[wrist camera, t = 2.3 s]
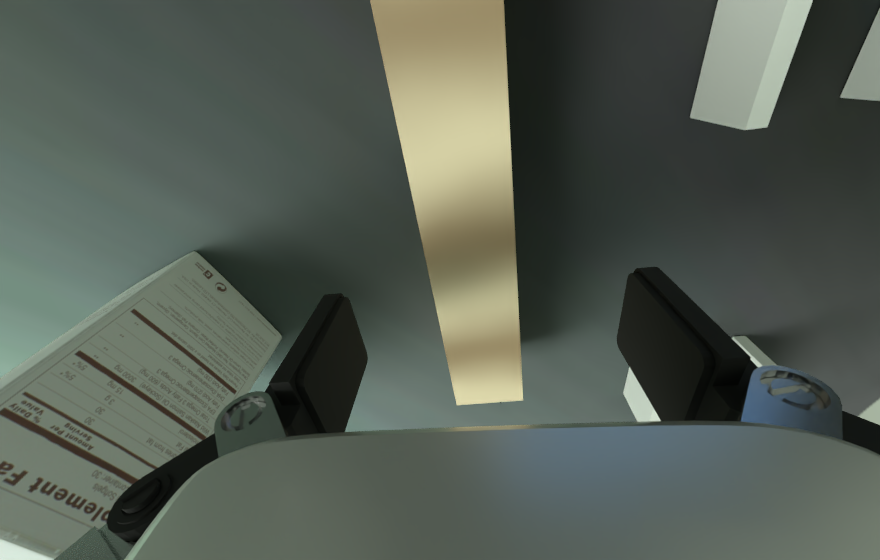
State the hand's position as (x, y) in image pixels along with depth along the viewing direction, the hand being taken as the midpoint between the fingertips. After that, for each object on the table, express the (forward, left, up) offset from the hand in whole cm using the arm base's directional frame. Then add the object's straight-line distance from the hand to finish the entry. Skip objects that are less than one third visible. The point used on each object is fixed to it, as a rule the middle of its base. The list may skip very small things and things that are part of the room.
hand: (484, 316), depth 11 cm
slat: (-2, 0, -7) cm, 8 cm away
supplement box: (+4, -17, -7) cm, 19 cm away
